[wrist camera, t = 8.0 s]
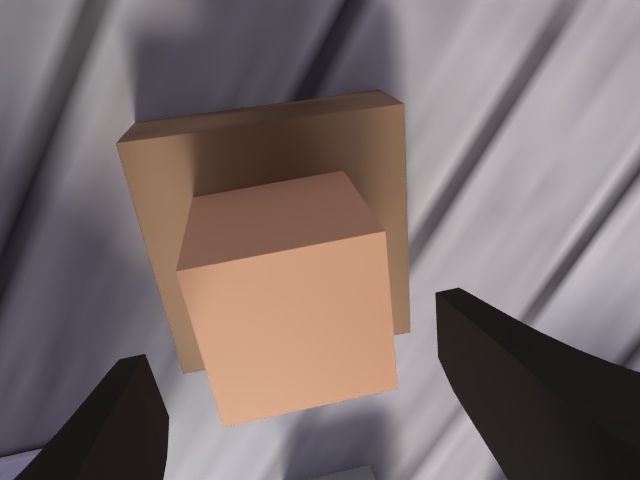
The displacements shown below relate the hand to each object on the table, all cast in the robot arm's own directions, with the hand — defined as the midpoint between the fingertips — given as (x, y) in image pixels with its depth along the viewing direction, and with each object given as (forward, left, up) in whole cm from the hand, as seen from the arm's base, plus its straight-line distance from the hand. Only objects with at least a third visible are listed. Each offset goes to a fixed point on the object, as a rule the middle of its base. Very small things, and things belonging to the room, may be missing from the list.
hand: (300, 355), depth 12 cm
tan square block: (0, 0, -9) cm, 9 cm away
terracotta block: (0, 0, -6) cm, 6 cm away
